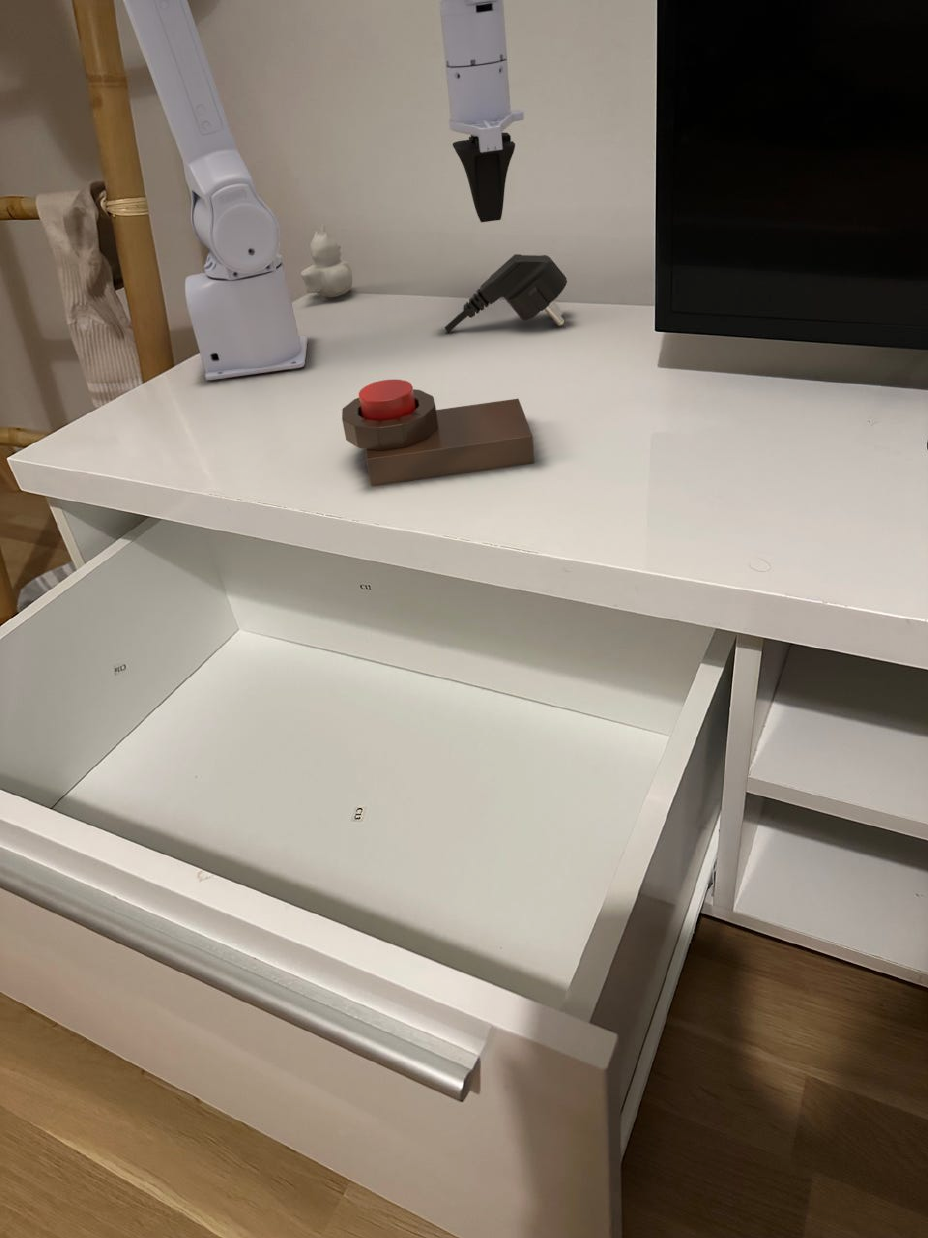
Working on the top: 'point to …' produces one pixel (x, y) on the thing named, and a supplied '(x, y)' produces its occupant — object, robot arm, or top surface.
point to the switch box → (440, 439)
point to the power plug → (520, 289)
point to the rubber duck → (327, 267)
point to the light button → (387, 400)
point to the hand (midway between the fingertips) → (489, 218)
